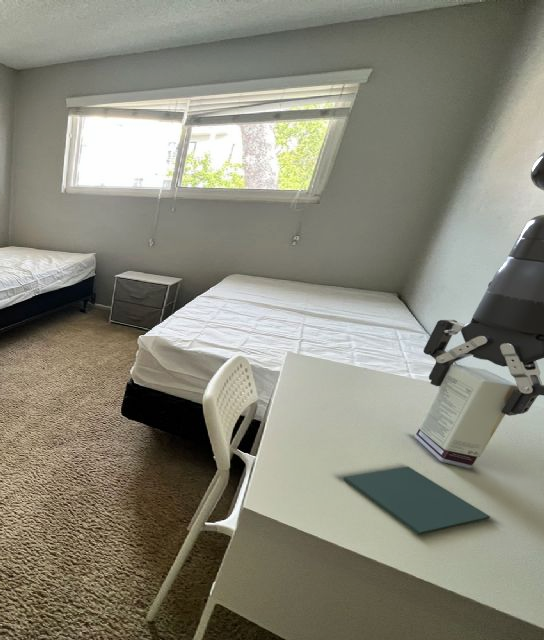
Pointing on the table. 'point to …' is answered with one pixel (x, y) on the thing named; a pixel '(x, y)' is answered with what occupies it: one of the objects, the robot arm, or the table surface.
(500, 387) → the cosmetic box
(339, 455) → the table surface
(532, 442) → the table surface
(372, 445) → the table surface
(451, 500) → the desk mat
